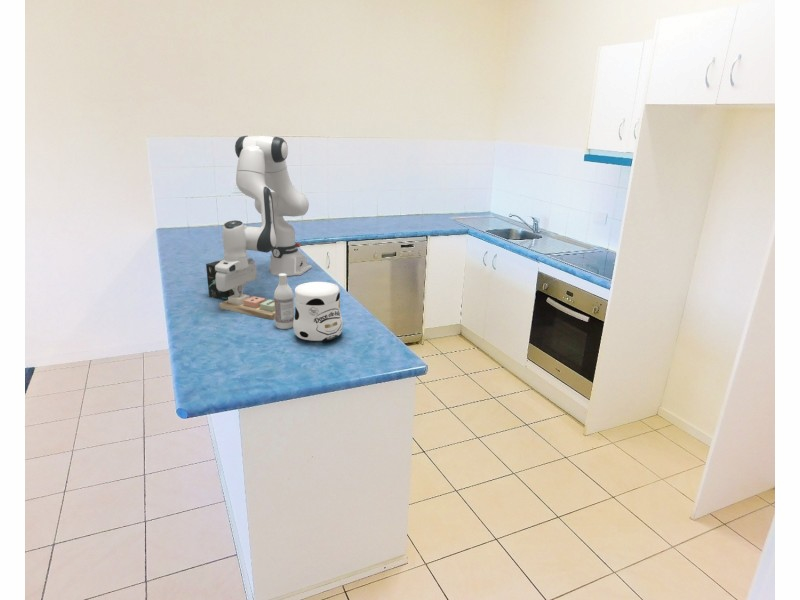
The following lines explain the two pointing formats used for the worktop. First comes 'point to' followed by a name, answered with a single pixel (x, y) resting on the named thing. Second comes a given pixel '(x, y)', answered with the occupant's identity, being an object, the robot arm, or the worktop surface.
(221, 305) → the board
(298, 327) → the milk container
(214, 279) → the tampon box
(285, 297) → the bath foam
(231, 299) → the toy block
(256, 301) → the toy block
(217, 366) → the worktop surface
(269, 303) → the toy block
